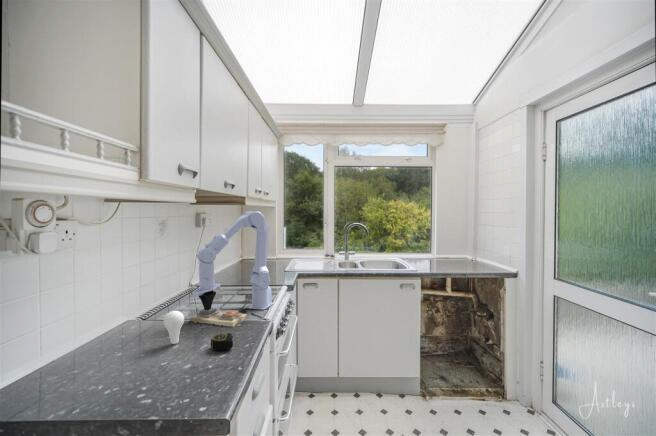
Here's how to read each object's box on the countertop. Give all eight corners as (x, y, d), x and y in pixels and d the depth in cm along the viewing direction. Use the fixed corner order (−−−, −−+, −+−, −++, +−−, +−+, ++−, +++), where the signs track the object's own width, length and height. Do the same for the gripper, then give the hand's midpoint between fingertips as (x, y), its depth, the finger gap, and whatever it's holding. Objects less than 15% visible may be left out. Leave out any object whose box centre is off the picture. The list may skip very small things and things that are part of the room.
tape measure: (233, 351, 95) (232, 339, 94) (209, 354, 92) (209, 342, 92) (233, 342, 101) (232, 331, 101) (211, 345, 99) (211, 334, 99)
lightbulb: (179, 348, 97) (178, 314, 97) (160, 348, 97) (159, 314, 97) (188, 339, 103) (187, 308, 103) (170, 340, 103) (169, 308, 103)
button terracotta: (229, 314, 123) (229, 309, 123) (238, 315, 122) (238, 310, 122) (222, 318, 119) (222, 313, 119) (232, 319, 118) (231, 314, 118)
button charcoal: (207, 312, 126) (206, 307, 126) (215, 313, 125) (215, 308, 125) (199, 316, 122) (199, 310, 122) (208, 317, 121) (208, 311, 121)
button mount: (207, 313, 130) (206, 307, 130) (247, 317, 124) (247, 311, 124) (190, 321, 120) (189, 315, 120) (232, 326, 114) (232, 320, 114)
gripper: (210, 273, 131) (211, 303, 132) (185, 280, 118) (186, 314, 118) (224, 274, 129) (224, 305, 130) (200, 281, 116) (201, 316, 116)
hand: (207, 310), depth 124 cm, fingers closed, pressing on button charcoal
